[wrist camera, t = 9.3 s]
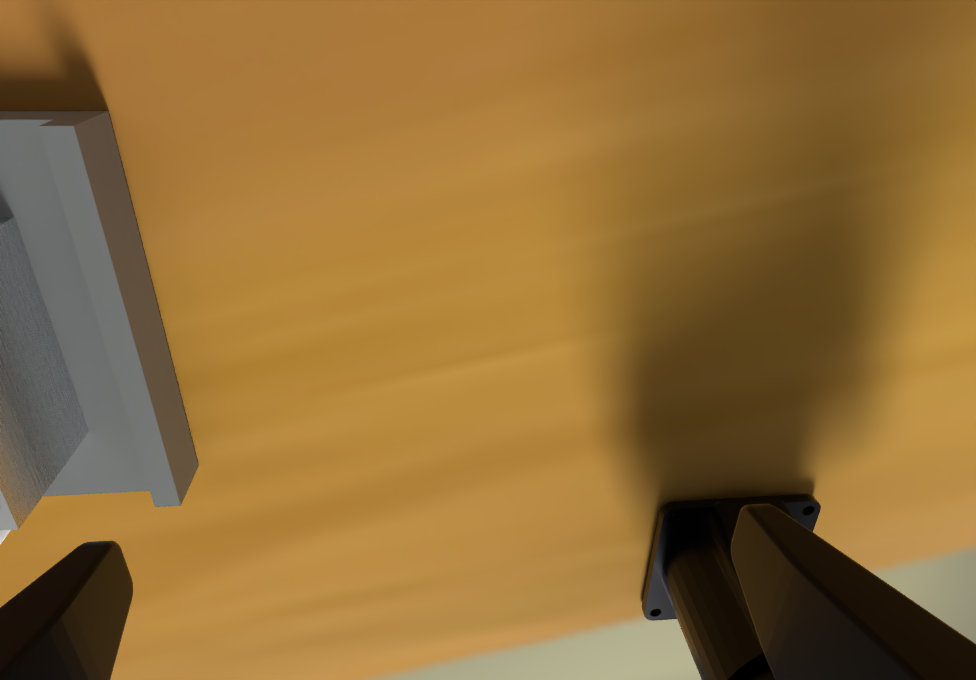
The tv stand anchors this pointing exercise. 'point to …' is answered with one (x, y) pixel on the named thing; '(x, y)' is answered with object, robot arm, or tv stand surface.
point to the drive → (30, 388)
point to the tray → (97, 303)
